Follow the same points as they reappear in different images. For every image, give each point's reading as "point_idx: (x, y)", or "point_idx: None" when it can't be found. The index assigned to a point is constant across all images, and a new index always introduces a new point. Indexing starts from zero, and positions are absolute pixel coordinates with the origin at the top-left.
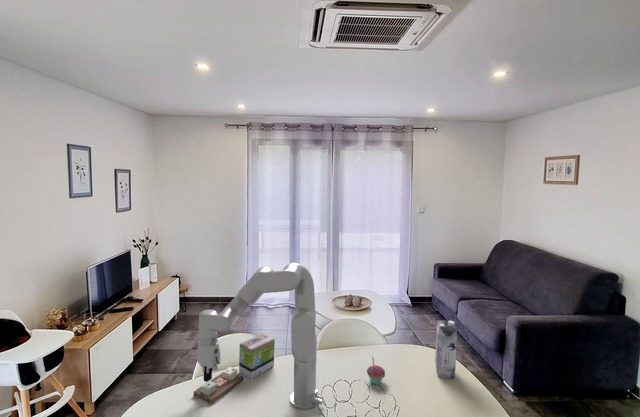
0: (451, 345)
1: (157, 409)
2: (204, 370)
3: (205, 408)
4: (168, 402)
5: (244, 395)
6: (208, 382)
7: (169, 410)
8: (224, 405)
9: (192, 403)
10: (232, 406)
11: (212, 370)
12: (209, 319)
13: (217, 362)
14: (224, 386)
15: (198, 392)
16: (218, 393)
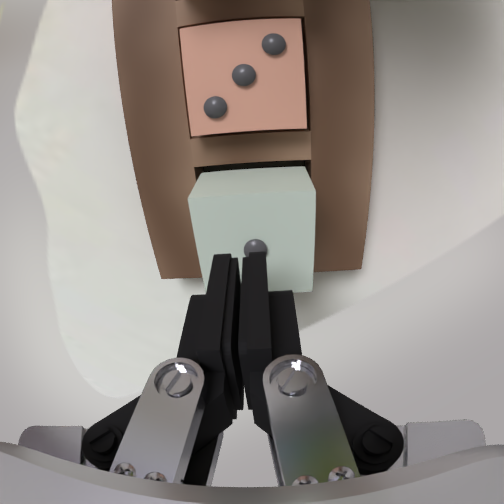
0: None
1: None
2: (222, 438)
3: (342, 288)
4: (130, 345)
5: (478, 68)
6: (217, 225)
7: None
8: (430, 212)
9: None
10: (473, 194)
11: (329, 386)
12: None
13: (472, 502)
14: (327, 84)
15: (199, 267)
16: (355, 189)
